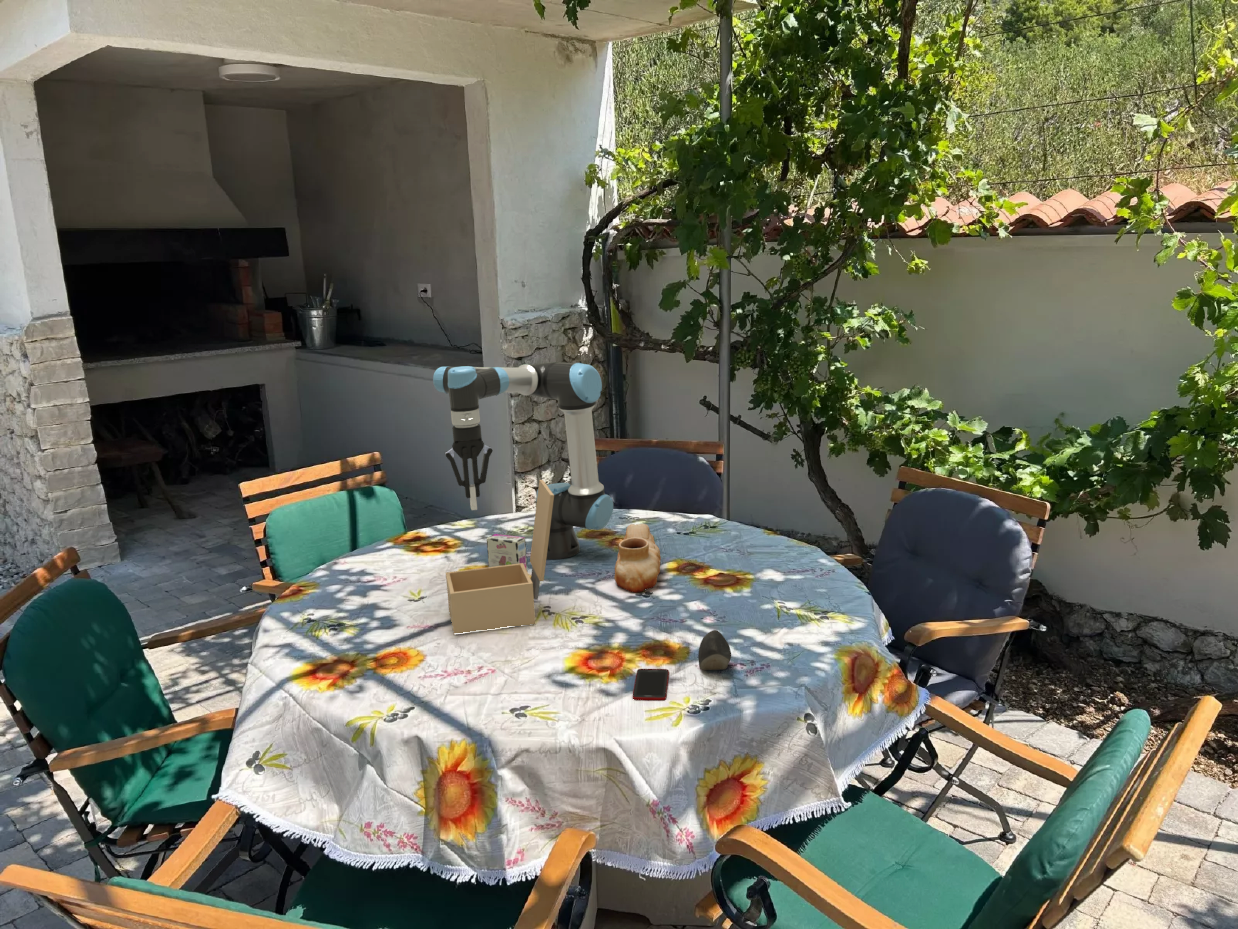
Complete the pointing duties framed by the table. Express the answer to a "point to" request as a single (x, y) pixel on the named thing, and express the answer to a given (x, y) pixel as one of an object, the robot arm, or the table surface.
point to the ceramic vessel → (637, 560)
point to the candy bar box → (506, 550)
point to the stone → (714, 652)
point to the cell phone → (651, 684)
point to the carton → (490, 598)
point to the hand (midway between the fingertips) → (473, 508)
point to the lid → (541, 535)
